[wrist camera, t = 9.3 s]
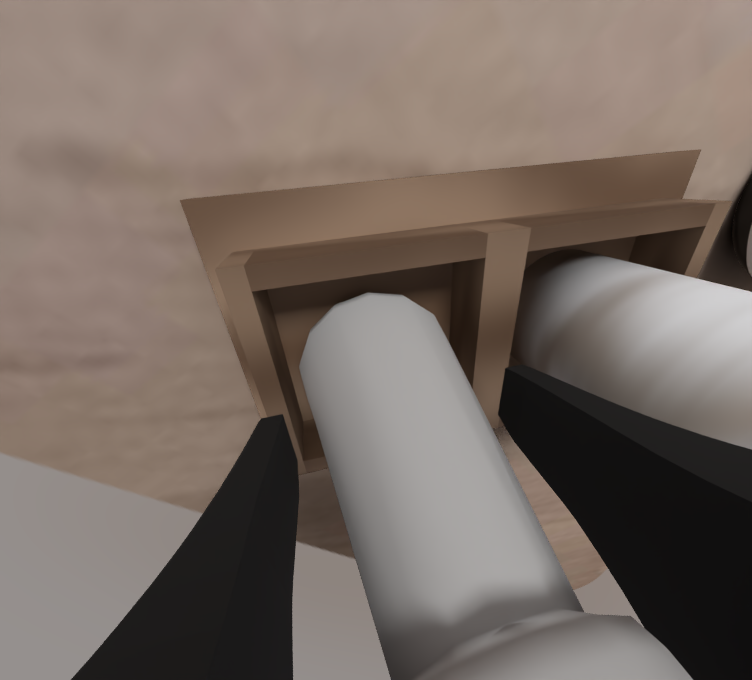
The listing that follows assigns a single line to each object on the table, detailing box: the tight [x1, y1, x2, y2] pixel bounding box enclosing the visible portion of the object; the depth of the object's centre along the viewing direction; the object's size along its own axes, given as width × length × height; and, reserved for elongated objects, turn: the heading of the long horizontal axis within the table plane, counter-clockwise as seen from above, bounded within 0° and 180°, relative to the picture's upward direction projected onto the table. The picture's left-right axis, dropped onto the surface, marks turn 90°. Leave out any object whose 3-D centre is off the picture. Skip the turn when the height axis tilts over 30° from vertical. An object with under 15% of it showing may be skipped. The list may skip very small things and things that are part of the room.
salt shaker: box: [299, 293, 693, 680], centre depth 8 cm, size 6×6×13 cm
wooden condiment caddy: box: [180, 150, 752, 475], centre depth 11 cm, size 13×21×9 cm, turn 95°
